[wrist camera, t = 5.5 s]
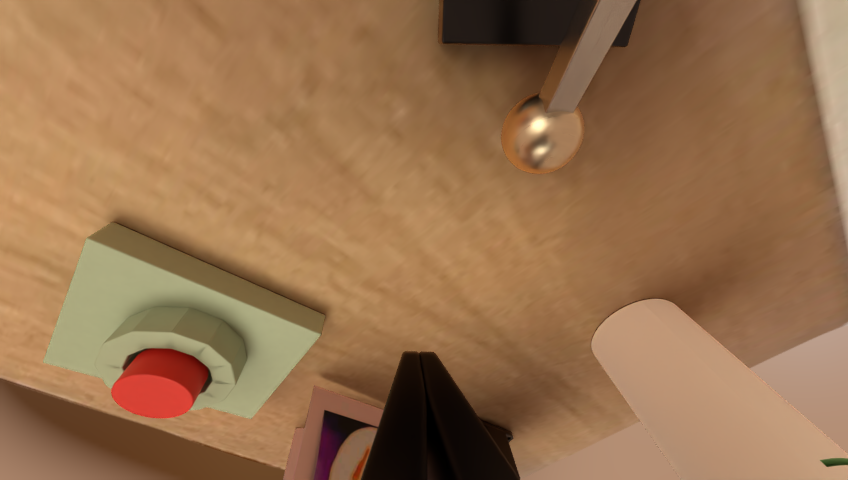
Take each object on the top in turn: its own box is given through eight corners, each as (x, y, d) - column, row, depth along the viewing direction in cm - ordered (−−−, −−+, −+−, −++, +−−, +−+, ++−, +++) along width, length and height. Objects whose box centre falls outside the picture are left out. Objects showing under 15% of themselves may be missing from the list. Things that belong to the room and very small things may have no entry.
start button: (195, 396, 19) (179, 425, 17) (126, 376, 17) (101, 407, 16) (219, 360, 18) (204, 389, 16) (146, 336, 16) (122, 365, 15)
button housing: (259, 397, 24) (241, 446, 21) (67, 339, 19) (9, 391, 16) (326, 315, 21) (316, 359, 18) (112, 220, 16) (50, 259, 13)
